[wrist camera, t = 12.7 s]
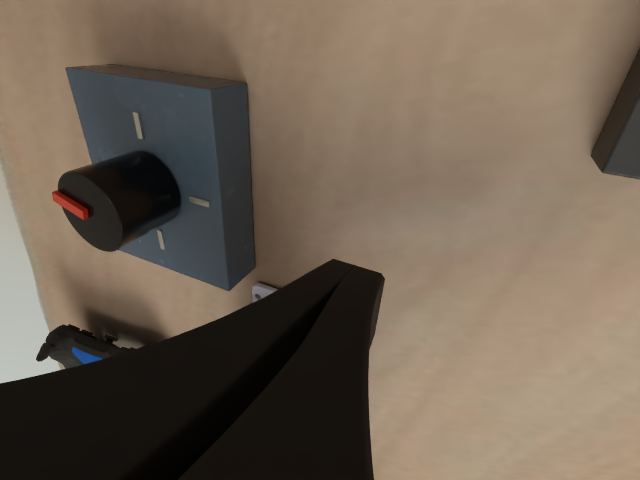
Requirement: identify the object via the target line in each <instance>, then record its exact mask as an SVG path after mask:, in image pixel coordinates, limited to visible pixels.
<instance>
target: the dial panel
mask: <svg viewBox="0 0 640 480" xmlns="http://www.w3.org/2000/svg"><path fill="white" fill-rule="evenodd" d="M66 72H67V76H68V79H69V83H70V86H71V90H72V94H73V97H74V101H75V104H76V108H77V111H78V115H79V118H80V122H81V126H82V129H83V133H84V136H85V140H86V143H87V147H88V150H89V154H90V158H91V161H92V164H94V163H97V162H101V161H104V160H107V159H110V158H114V157H117V156H120V155H123V154H127V153H130V152H133V151H144V152H147V153H150V154H152V155H153V156H155V157H156V158H158V159H159V160H160V161H161V162H162V163H163V164H164V165H165V166H166V167H167V168H168V170H169V171H170V172H171V174H172V176H173V177H174V179H175V181H176V184H177V186H178V189H179V193H180V209H179V212H178V214H177V216H176V217H175V218H174V219H173V220H171V221H169V222H167V223H165V224H164V225H162V226H160V227H158V228H156V229H154V230H153V231H151V232H149V233H147V234H145V235H143V236H142V237H140V238H138V239H136V240H134V241H132V242H131V243H129V244H127V245H125V246H123V247H121V248H120V249H118V250H120V251H123V252H125V253H128V254H131V255H133V256H136V257H139V258H141V259H144V260H147V261H149V262H152V263H155V264H157V265H160V266H163V267H165V268H168V269H171V270H174V271H176V272H179V273H182V274H184V275H187V276H190V277H192V278H195V279H198V280H200V281H203V282H206V283H208V284H211V285H214V286H216V287H219V288H222V289H224V290H227V291H230V290H231V289H232V288H233V287H234V286H235V285H236V284H238V283H239V282H240V281H241V280H242V279H243V278H244V277H245V276H246V275H247V274H249V273H250V272H251V271H252V270H253V269H254V268H255V255H254V233H253V211H252V188H251V166H250V144H249V122H248V99H247V83H245V82H239V81H231V80H224V79H217V78H209V77H202V76H195V75H187V74H180V73H173V72H166V71H158V70H151V69H144V68H136V67H129V66H122V65H115V64H106V65H92V66H78V67H67V68H66Z"/></svg>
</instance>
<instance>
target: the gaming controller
mask: <svg viewBox="0 0 640 480" xmlns="http://www.w3.org/2000/svg"><path fill="white" fill-rule="evenodd" d="M104 337H105V338H107V339H106V341H104V340H97V338H96V337H94V336H93V333H91V332H88V331H86V330H82V331H80V328H78V327H75V326H73V325H70V324H69V325H68V326H66V325H61V326H59V327H57V328H56V329H54V330H53V331H52V332H50V333H49V335H48V336H47V338H46V343H44V344H43V345H42V347H41V349H40V351H39V353H38V355H37V358H36V360H37V361H42V360H44V359H46V358H47V357H48V356H50V357H51V358H52V359H54V360H56V361H59V362H60V363H62V364H63V365H64V367H65V368H66V369H67V368H72V367H76V366H79V365H83V364H87V363H91V362H94V361H98V360H102V359H105V358H109V357H112V356H116V355H119V354H122V353H125V352H128V351H131V350H134V349H135V348H132V347H131V348H130V349H129V348H125V347H122V348H119V347H117V346H116V345H114V344H112V343H113V341H116V342H117V340H118V339H117V338H115V337H113V336H109V335H106V334H105V336H104Z"/></svg>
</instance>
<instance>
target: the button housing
mask: <svg viewBox="0 0 640 480" xmlns="http://www.w3.org/2000/svg"><path fill="white" fill-rule="evenodd" d="M591 157H592V158H593V160H594V161H595V163H596V164H597V166H598V167H599V169H600V170H601V172H603V173H606V174H612V175H618V176H624V177H630V178H635V179H640V49H639V51H638V54H637V56H636V58H635V60H634V62H633V64H632V67H631V69H630V71H629V73H628V75H627V78H626V80H625V82H624V84H623V86H622V89H621V91H620V93H619V95H618V97H617V99H616V102H615V104H614V106H613V108H612V110H611V113H610V115H609V117H608V119H607V121H606V123H605V126H604V128H603V130H602V132H601V134H600V137H599V139H598V141H597V143H596V145H595V147H594V150H593V152H592V154H591Z"/></svg>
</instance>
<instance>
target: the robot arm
mask: <svg viewBox="0 0 640 480" xmlns="http://www.w3.org/2000/svg"><path fill="white" fill-rule="evenodd" d="M384 281H385V278H384V277H383V275H382V274H381V273H378V272H375V271H372V270H369V269H365V268H362V267H359V266H355V265H352V264H349V263H345V262H342V261H339V260H336V259H332V260H330V261H328V262H326V263H325V264H323V265H321V266H319V267H317V268H316V269H314V270H312V271H310V272H309V273H307V274H305V275H304V276H302V277H300V278H298V279H297V280H295V281H293V282H291V283H289V284H288V285H286V286H284V287H282V288H280V289H275V288H273V287H270V286H267V285H264V284H261V283H256V284H255V285H254V286H253V287H252V298H253V303H251V304H249V305H247V306H245V307H243V308H241V309H239V310H237V311H235V312H233V313H231V314H229V315H227V316H224V317H222V318H220V319H217V320H215V321H213V322H210V323H208V324H206V325H203V326H201V327H198V328H195V329H193V330H190V331H188V332H185V333H182V334H180V335H177V336H174V337H172V338H169V339H166V340H163V341H160V342H156V343H153V344H150V345H147V346H144V347H141V348H138V349H134V350H131V351H128V352H125V353H122V354H119V355H116V356H112V357H109V358H105V359H102V360H98V361H94V362H91V363H87V364H83V365H79V366H76V367H72V368H67V369H63V370H59V371H55V372H52V373H47V374H43V375H39V376H34V377H29V378H25V379H21V380H16V381H11V382H6V383H1V384H0V480H374V476H373V466H372V454H371V440H370V424H369V397H368V369H369V349H370V346H371V343H372V340H373V337H374V335H375V329H376V324H377V319H378V313H379V308H380V302H381V297H382V292H383V286H384ZM258 294H259V295H260V296H259V295H258Z"/></svg>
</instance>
